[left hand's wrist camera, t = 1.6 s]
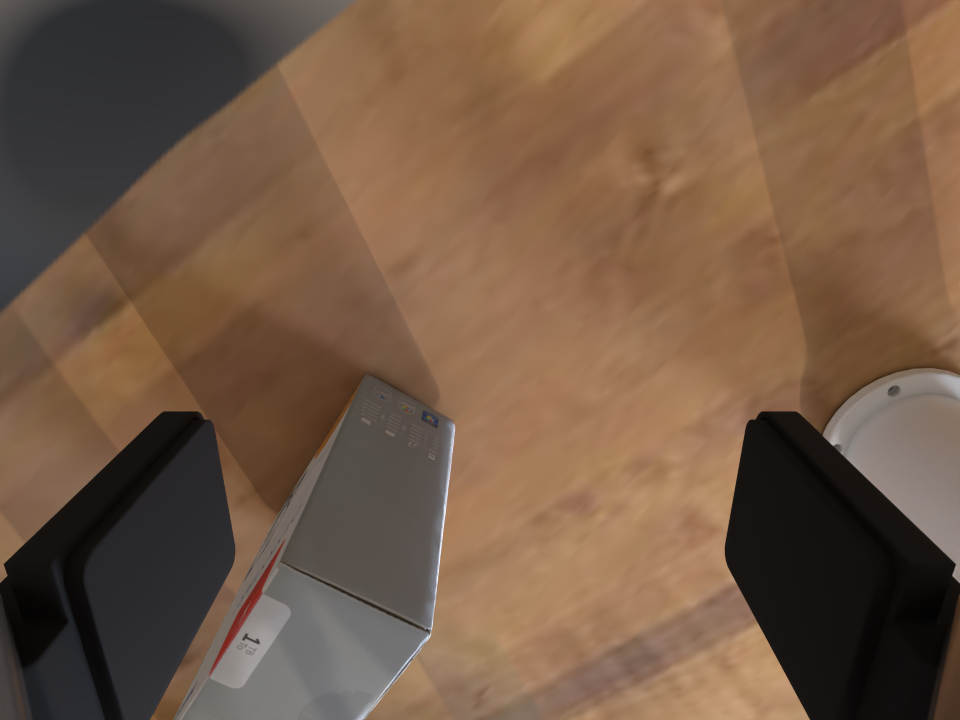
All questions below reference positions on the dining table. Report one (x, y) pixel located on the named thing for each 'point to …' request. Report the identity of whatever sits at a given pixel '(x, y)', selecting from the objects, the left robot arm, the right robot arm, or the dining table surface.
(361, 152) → the dining table surface
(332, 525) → the hard drive box
